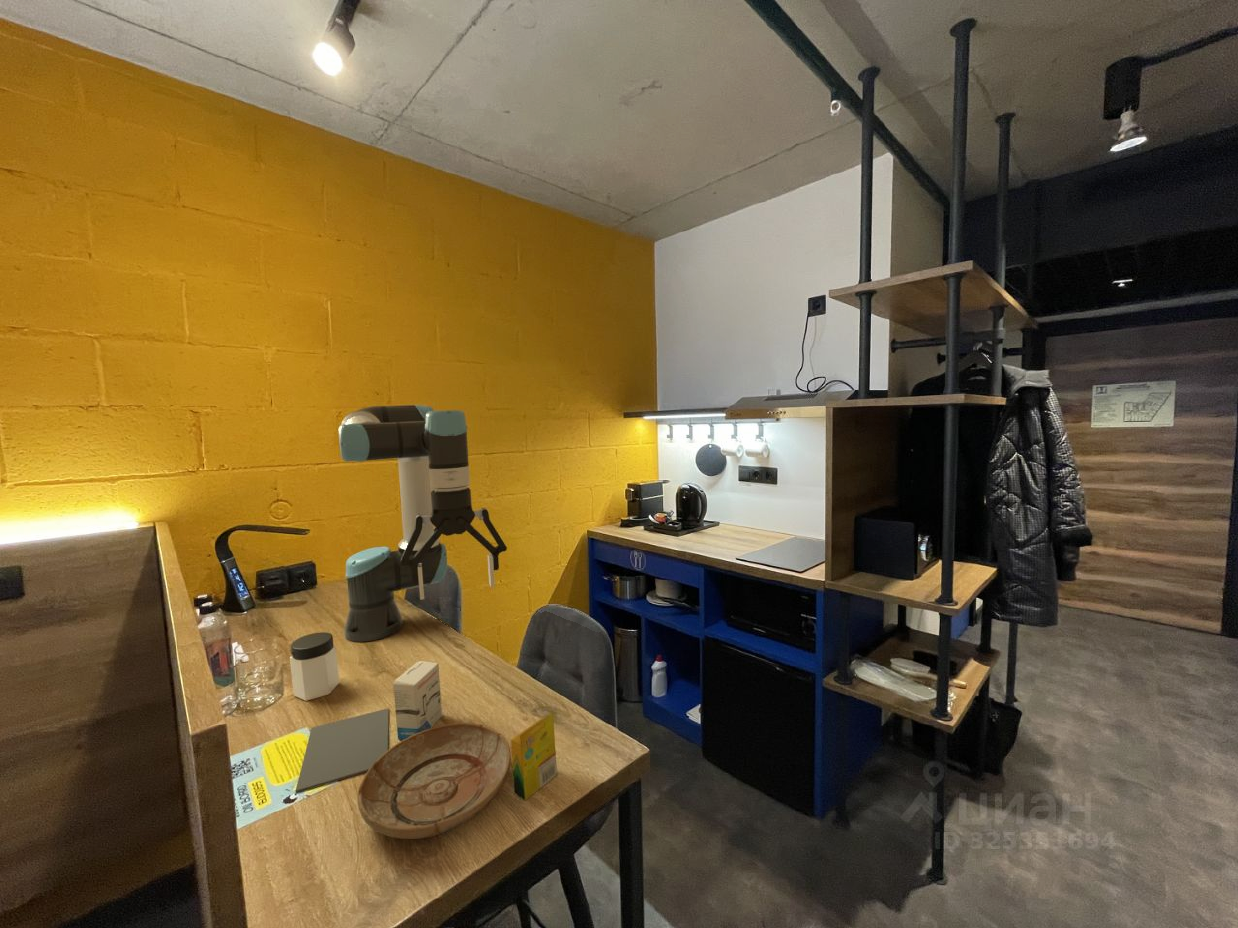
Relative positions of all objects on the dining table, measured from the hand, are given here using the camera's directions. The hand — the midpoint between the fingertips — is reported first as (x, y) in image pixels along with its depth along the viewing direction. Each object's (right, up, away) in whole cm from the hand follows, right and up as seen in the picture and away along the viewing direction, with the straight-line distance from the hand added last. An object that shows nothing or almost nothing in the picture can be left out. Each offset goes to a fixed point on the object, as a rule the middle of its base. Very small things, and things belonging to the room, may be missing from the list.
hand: (458, 591), depth 100 cm
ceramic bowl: (+3, -29, -18) cm, 35 cm away
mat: (-19, -28, -6) cm, 34 cm away
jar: (-37, -26, +13) cm, 47 cm away
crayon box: (+19, -29, -17) cm, 38 cm away
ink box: (-7, -27, -1) cm, 28 cm away
